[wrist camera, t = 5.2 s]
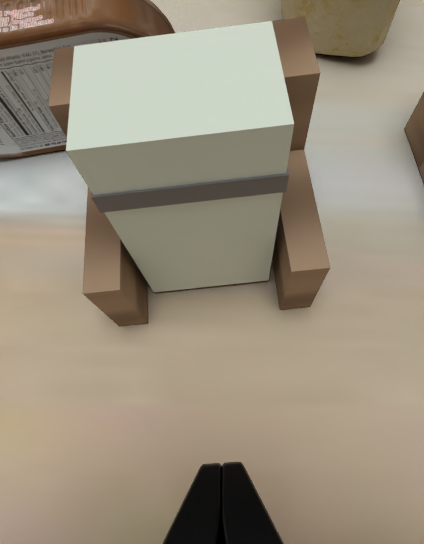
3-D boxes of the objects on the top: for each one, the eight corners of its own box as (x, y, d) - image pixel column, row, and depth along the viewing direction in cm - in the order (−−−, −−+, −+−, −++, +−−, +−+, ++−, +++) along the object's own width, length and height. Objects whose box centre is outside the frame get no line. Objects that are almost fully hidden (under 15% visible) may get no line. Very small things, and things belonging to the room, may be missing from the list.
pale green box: (270, 281, 20) (297, 125, 10) (152, 294, 20) (62, 153, 10) (259, 212, 22) (274, 18, 12) (150, 224, 22) (71, 44, 12)
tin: (187, 99, 26) (163, -44, 18) (194, 135, 25) (171, -2, 17) (-35, 139, 26) (-153, 14, 18) (-39, 177, 25) (-167, 60, 17)
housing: (309, 306, 20) (358, 213, 11) (119, 326, 20) (32, 249, 12) (283, 166, 23) (305, 16, 15) (120, 184, 24) (54, 48, 15)
